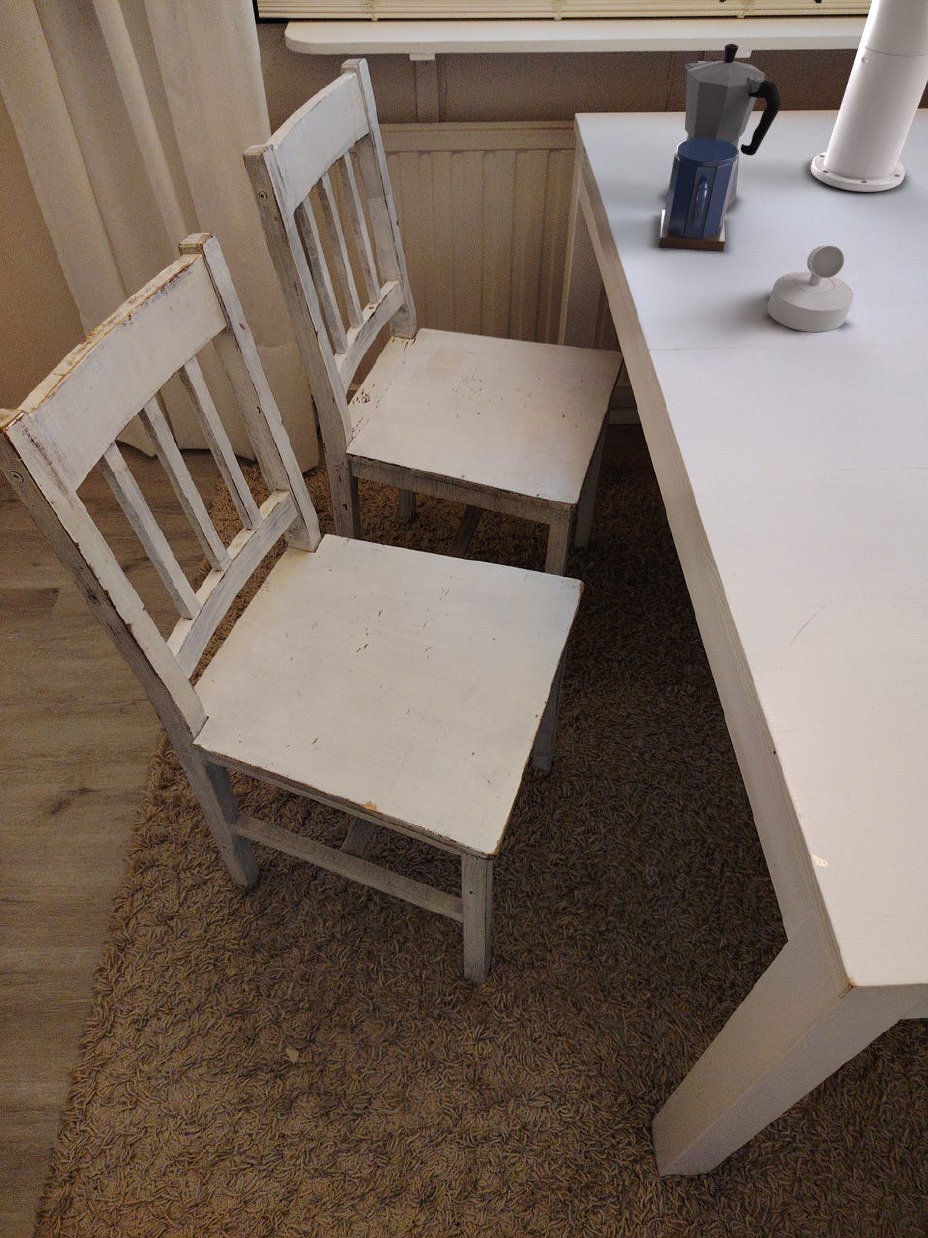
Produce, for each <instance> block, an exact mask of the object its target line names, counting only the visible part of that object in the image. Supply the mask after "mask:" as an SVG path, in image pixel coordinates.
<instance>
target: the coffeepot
mask: <svg viewBox="0 0 928 1238" xmlns="http://www.w3.org/2000/svg"><path fill="white" fill-rule="evenodd" d="M739 48H740V46H739V45H737V44H735V43H727V44H726V45H724V53H723V54H724V55H723V60H716V61H707V60H698V61H695V60H693V61H691V62H689V63H684V68H685V69H686V71H687V73H686V93H685V95H686V96H685V99H686V100H685V114H684V115H685V117H684V118H685V120H684V130H685V132H686V133H687V135H686V140H690V139H696V138H712V139H719V140H723V141H726V142H729V143H731V144H733V145H734V146H735V147H736V148H737V149H738V161H737V165H736V170H735V174H734V178H733V183H732V187H731V191H730V196H729V200H728V205H727V209H729V208H730V207H731V206H732V205H733V203H734V202H735V200H737V199H736V198H737V184H738V174H739V173H738V171H739V158H740V152H741V153H742V154H743V155H746V156H750V157H751V156H754V155H756V153H757V152H758V150H759V148H760V146H761V144H762V143H763V140H764V139H765V137H766V135H767V133H768V131H769V129H770V128H771V126H772V124H773V122H774V121H775V119H776V116H777V115H778V114H779V112H780V109H781V106H782V97H781V94H780V91H779V87H778V84H777V83H776V82H774V81H771V80H768V79H766V78H765V76H766V73H764V72H763V71H761V70H760V69H758V68H757V67H756V66H754V65H753V64H749V63H744V62H739V61H734V60H735V58H736V55H737V52H738V50H739ZM757 99H763V100H765V103H766V107H765V108H764V110H763V112H762V113H761V117H760V120H759V123H758V125H757V126H756V128H755V129H754V131H753V132H752V137H751V141H750V143H749V145H747V144H744V143H741V145H740V150H739V148H738V146H739V141H740V137H742V135H743V134H744V133H745V131H746V128H747V125H748V123H749V120H750V117H751V114H752V112H753V109H754V107H755V103H756V101H757ZM666 197H668V193H667V194H666Z"/></svg>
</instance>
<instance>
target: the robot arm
mask: <svg viewBox="0 0 928 1238" xmlns="http://www.w3.org/2000/svg"><path fill="white" fill-rule="evenodd" d="M822 1H823V0H813V2H814V3H815V4H822ZM725 2H727V0H718V3H725ZM870 5H871V6H870V10H869V13H868V16H867V20H866V23H865V25H864V26H865V27H864V30H863V33H862V36H861V40H860V42H859V46H858V49H857V52H856V56H855V59H854V62H853V64H852V69H851V72H850V75H849V78H848V81H847V85H846V88H845V91H844V95H843V98H842V101H841V105H840V107H839V111H838V114H837V116H836V117H837V118H836V121H835V124H834V127H833V131H832V134H831V137H830V140H829V143H828V147H827V150H826V151H822V152H820V153H818V154H816V156H814V158H813V159H812V162H811V165H810V171H811V173H812V175H813V176H814V178H816V179H817V180H819V181H820V182H822V183H824V184H826V185H828V186H831V187H834V188H837V189H841V190H845V191H852V192H864V193H873V192H883V191H887V190H888V191H889V190H891V189H894V188H895V187H898V186H899V185H900V184H901V183H902V182H903V180H904V178H905V176H906V168H905V166H904V164H902V162H900V161H899V159H900V156H901V153H902V151H903V147H904V145H905V142H906V140H907V137H908V134H909V132H910V130H911V127H912V124H913V121H914V118H915V116H916V113H917V110H918V107H919V105H920V102H921V100H922V97H923V94H924V92H925V89H926V86H927V83H928V0H872V2H871V4H870Z"/></svg>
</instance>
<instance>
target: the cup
mask: <svg viewBox="0 0 928 1238" xmlns="http://www.w3.org/2000/svg"><path fill="white" fill-rule="evenodd" d="M737 148H738V147H737ZM737 148H736V147H735V146H734V145H733V144H731V143H729V142H726V141H723V140H719V139H712V138H696V139H690V140H687V139H686V140H684V141H682V142H679V144H678V145H677V147H676V152H674V157H673V161H672V168H671V174H670V179H669V185H668V191H667V194H668V196H666V197H667V198H666V202H665V203H666V204H665V209H664V210H665V214H664V220H663V225H664V226H665V228H666V229H667V231H669V232H670V233H672V234H675V235H677V236H680V237H683V238H696V239H701V238H702V239H703V238H707V237H711V236H715V235H716V234H718V233H719V231H720V230H721V229H722V227H723V222H724V223H725V217H726V213H727V210H728V208H727V205H728V200H729V196H730V191H731V187H732V183H733V178H734V174H735V170H736V165H737V161H738V162H739V159H738V150H739V148H738V149H737Z"/></svg>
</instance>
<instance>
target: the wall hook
mask: <svg viewBox="0 0 928 1238" xmlns="http://www.w3.org/2000/svg"><path fill="white" fill-rule="evenodd" d="M844 264H845V255H844V253H843V251H842V249H840V248H839V247H837V246H834V245H825V244H824V245H820V246H817V247H815V248H814V249H812V251H811V252H810V253H809V254H808V257H807V260H806V266H807V269H808V271H795V272H789V273H786V274H784V275H781V276H780V277H778V278H777V279H775V282H774V284H773V286H772V290H771V294H770V297H769V300H768V303H767V312H768V314H769V316H770V317H771V318H772V319H773V320H774V321H776V322H777V323H779V324H780V325H782V326H785V327H787V328H790V329H793V330H796V331H802V332H808V333H823V332H829V331H833V330H835V329H838V328H840V327H841V326H842V325H843V324H844V323H845V321H846V319H847V317H848V314H849V311H850V309H851V307H852V303H853V301H854V297H855V295H854V291H853V289H852V288H851V287H850V286H849V285H848V283H846V282H845V281H843V280H842V279H840V278H837V277H835V276H836V275H838V274H839V272H840V271H841V270H842V269H843V266H844Z"/></svg>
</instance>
